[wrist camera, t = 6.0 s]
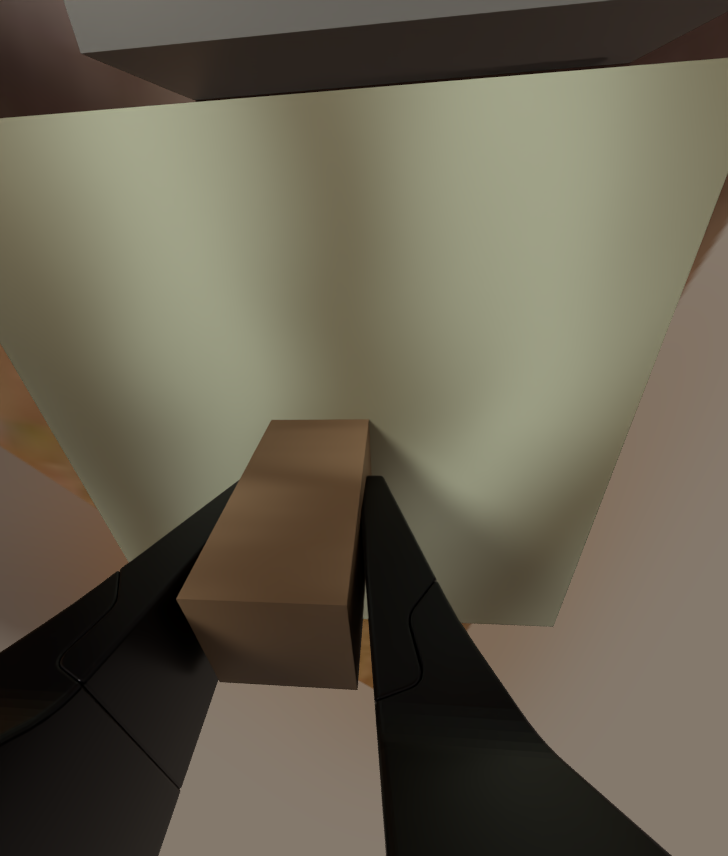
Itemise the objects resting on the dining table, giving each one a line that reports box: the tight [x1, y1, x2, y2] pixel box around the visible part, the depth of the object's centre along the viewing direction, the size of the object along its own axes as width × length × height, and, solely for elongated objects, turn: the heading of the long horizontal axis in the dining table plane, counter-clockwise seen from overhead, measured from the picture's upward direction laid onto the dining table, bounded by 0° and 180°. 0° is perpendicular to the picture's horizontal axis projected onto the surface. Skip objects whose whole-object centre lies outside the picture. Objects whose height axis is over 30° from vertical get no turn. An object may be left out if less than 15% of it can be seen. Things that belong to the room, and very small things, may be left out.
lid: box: [0, 58, 728, 690], centre depth 8 cm, size 15×15×6 cm
